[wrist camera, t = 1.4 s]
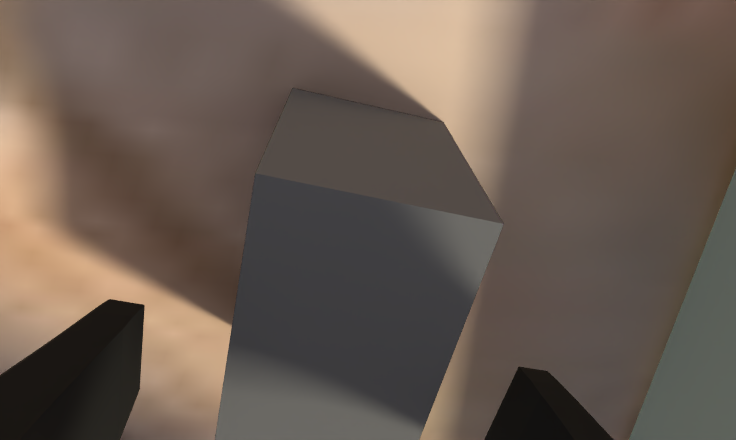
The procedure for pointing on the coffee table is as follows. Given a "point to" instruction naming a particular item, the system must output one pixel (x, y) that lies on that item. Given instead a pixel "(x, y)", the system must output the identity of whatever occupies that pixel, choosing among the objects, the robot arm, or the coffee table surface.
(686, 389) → the door
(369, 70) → the coffee table surface
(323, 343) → the block
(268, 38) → the coffee table surface
